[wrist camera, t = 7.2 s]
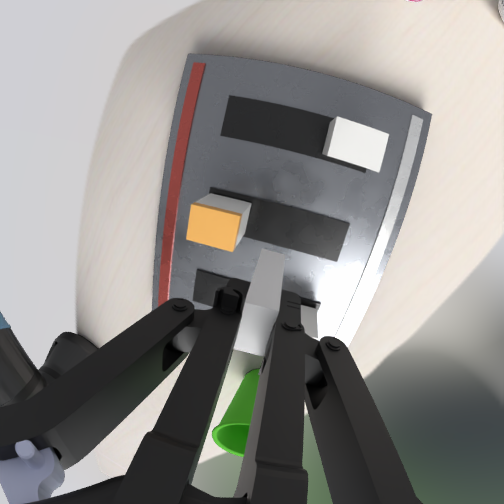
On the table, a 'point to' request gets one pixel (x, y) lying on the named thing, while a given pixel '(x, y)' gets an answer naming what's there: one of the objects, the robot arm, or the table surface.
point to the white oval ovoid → (501, 8)
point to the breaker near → (355, 143)
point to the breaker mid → (218, 221)
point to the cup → (238, 417)
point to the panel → (284, 185)
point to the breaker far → (309, 321)
